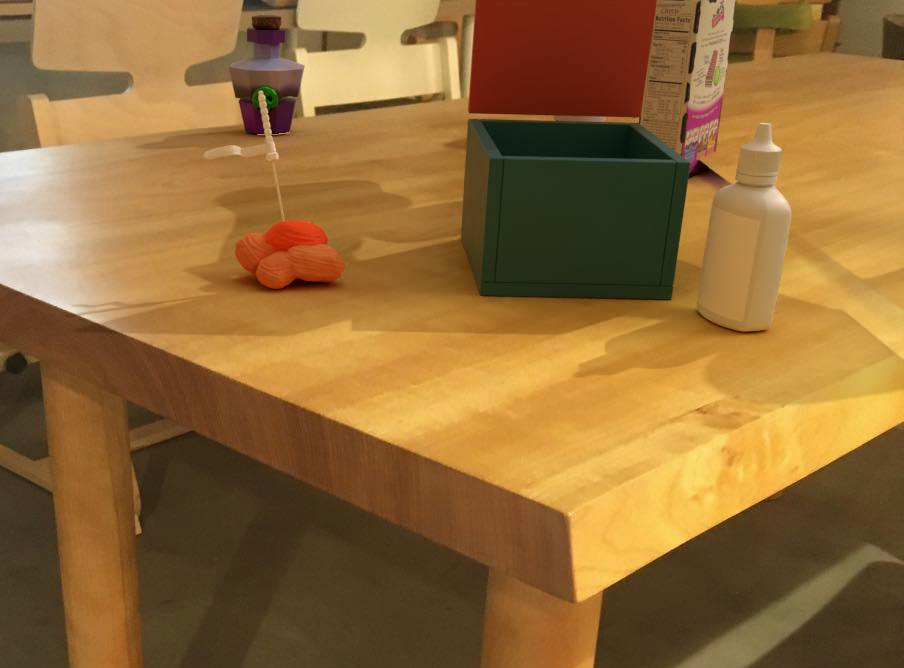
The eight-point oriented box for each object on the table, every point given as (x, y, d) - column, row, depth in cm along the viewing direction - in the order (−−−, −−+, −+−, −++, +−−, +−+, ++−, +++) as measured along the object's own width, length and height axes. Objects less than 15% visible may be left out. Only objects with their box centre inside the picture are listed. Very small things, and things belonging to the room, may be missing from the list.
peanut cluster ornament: (227, 262, 89) (222, 84, 83) (355, 274, 87) (360, 92, 81) (195, 284, 83) (188, 96, 78) (331, 297, 81) (334, 105, 76)
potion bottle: (241, 140, 133) (238, 18, 128) (219, 127, 140) (216, 11, 135) (317, 136, 136) (318, 18, 131) (292, 124, 143) (292, 11, 138)
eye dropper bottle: (700, 331, 77) (732, 129, 71) (694, 305, 82) (722, 114, 76) (773, 336, 76) (810, 133, 71) (762, 310, 81) (796, 118, 76)
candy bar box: (667, 160, 129) (690, -13, 121) (714, 166, 126) (741, -10, 119) (628, 177, 120) (650, -8, 112) (678, 184, 118) (704, -5, 110)
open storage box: (671, 299, 83) (691, 162, 79) (480, 295, 83) (489, 157, 79) (624, 241, 97) (638, 122, 93) (460, 238, 97) (467, 118, 93)
